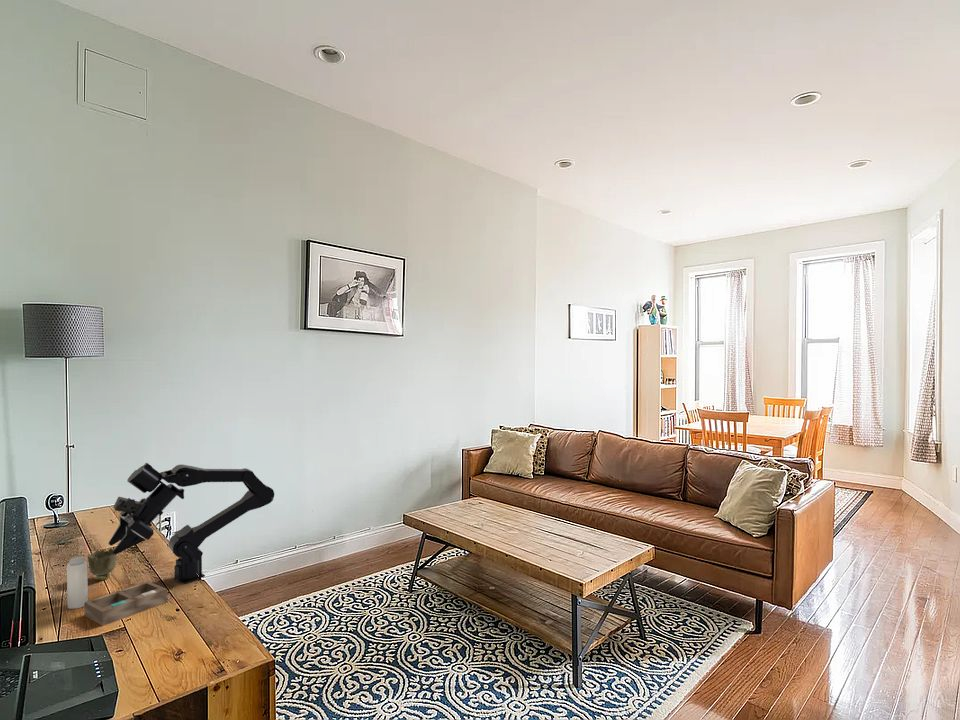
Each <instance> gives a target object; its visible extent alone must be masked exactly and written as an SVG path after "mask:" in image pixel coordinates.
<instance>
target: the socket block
mask: <svg viewBox="0 0 960 720" xmlns="http://www.w3.org/2000/svg"><path fill="white" fill-rule="evenodd" d="M165 603H168V588H167V587H166V588H165V587H163V586H161V585H158V584H156V583H154V582H151V581H145V582H141V583H139V584H136V585H133V586H130V587H128V588H124V589H121V590H118V591H115V592H112V593H108V594H106V595H103V596H100V597H97V598H94V599H91V600H88V601H87V602H84V606H83V607H84V611H83V613H84V617H86V618H88V619H89V620H91V621H92V622H94V623H97V624H98V625H99V626H107V625H109V624H112V623H114V622H116V621H119V620H122V619H125V618H128V617H131V616H133V615H136V614H138V613H141V612H144V611H146V610H149V609H151V608H155V607H158V606H160V605H163V604H165Z"/></svg>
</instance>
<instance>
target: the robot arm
mask: <svg viewBox="0 0 960 720" xmlns="http://www.w3.org/2000/svg"><path fill="white" fill-rule="evenodd" d="M162 480H164V482H166V483H167V484H166V483H164V482H163V481H162ZM126 482H128V484H131V485H132V486H133V487H134V488H136V489H137V490H139V491H140V492H142V493H143V494H145V493H147V492H148V493H150V494H149V495H148V496H147V497H143V498H141V499H140V500H138V501H137V500H135V499H133V498H130V497H128V498H126V497H124V496H118V497H117V498H116V501H115V503H114V504H113V507H112V508H113V509H114V510H115V511H116V512H119V516H118V520H119V521H118V522H119V523H118V524H119V525H118V526H117V528H116V530H115V531H114V533H113V535H112V536H111V538H110V540H109V541H108V545H110V546H114V545H115V544H117V543H118V544H117V545H116V546H115V548H113V549H114V551H113V553H114V554H117V555H118V554H120V553H122V552H123V551H125V550H128V549H129V548H132V547H134V546H136V545H137V544H140V543H142V542H145V541H146V540H147V541H149V540H150V539H151V538H152V537H153V536H154V529H153V528H152V525H153V521H154V520H155V519H156V518H157V517H158V516H162V515H163V514H164V510H165V509H166V507H168V505H170V504H171V502H172V501H173V500H174V499H176V497H179V498H180V499H181V500H184V499H185V489H184V488H185V487H191V486H195V485H196V486H197V485H200V484H203V483H243V485H245V487H246V488H247V491H246V492H245V493H244V494H243V496H242V497H241V498H240V499H239V500H238V501H236V502H235V503H232V504H230V506H227V508H225V509H223V510H221V511H220V512H218V513H217V514H215V515H213V516H211V517H210V518H208V519H207V520H205V521H204V522H201V523H200V524H198V525H197V526H193V527H191V526H190V525H189V524H186V525H185V526H183V527H182V528H181V529H179V530H176V531H174V534H173V535H172V536H171V537H169V541H168V548H169V550H170V551H171V552H172V553H173V554H174V555H175V557H178V558H177V559H175V565H174V567H173V568H174V576H173V577H172V579H173V581H176V582H179V583H181V584H188V583H191V582H195V581H197V580H199V579H201V578H204V577H206V575H205V574H204V573H203V566H202V565H203V554H204V553H203V551H202V550H201V549H200V548H199V547H200V546H201V545H202V544H203V543H204V541H205V540H206V539H207V538H209V537H211V535H212V536H213V534H215V533H216V532H218V531H219V530H221V529H223V528H225V527H226V526H228V525H229V524H231V523H233V521H235V520H237V519H239V518H240V517H242V516H243V515H245V514H247V513H248V512H250V511H253V510H258V509H260V508H263V507H264V506H267V505H269V504H271V503H272V502H273V501H274V497H275V491H274V489H273V488H272V487H270V486H269V485H267V484H264V483H263V481H261V480H260V479H259V477H258V476H256V474H255V473H254V471H252V470H251V469H249V468H247V467H246V468H203V467H199V466H193V465H188V464H177V465H175V466H174V467H173V468H172V469H169V470H165V471H162V472H161V471H160V472H159V471H158V470H156V469H155V468H154V467H153V466H152V465H150V464H149V463H148V462H145V463H144V465H141V466H140V467H139V468H137V469H134V471H133V472H132V473H131V474H130V476H129V477H128V478H127V481H126ZM174 484H175V485H174ZM176 485H177V486H178V487H181V488H178V487H176ZM196 573H197V574H198V575H199V577H200V578H198V575H197V574H196Z"/></svg>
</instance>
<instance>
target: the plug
mask: <svg viewBox="0 0 960 720" xmlns="http://www.w3.org/2000/svg"><path fill="white" fill-rule="evenodd" d="M66 586H67V587H66V588H67V590H66V593H67V595H66V596H67V601H66V602H67V609H69V610H75V609H80V608H82V607H84V602H87V601H89V600H88V599H89V598H88V597H89V595H88V594H89V593H88V589H89V587H88V560H85V556H75V557H72V558H70V559H69V562H68V564H66Z"/></svg>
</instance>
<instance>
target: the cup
mask: <svg viewBox="0 0 960 720" xmlns="http://www.w3.org/2000/svg"><path fill="white" fill-rule="evenodd" d="M114 549H115V548H112V547H111V548H108V550H105V549H104V548H102V549H101V550H99V549H98V550H95V551H94V552H92V551H91V553H88V554H87V564H88V567H89V570H90V573H91V574H92V575H94V576H95V580H96V581H105V580H108V579H109V578H110V576H111V572H113V571H114V570H115V568H116V563H117V557H118V554H114V553H113V551H114Z"/></svg>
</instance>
